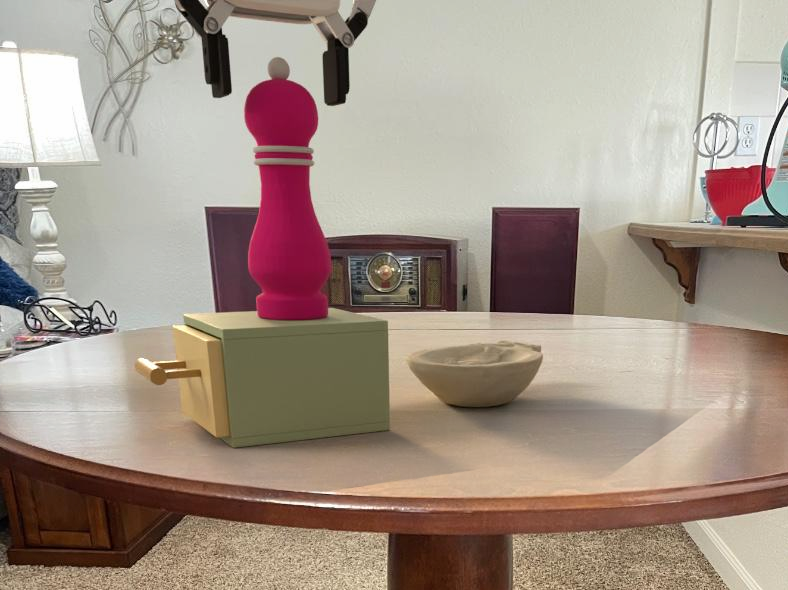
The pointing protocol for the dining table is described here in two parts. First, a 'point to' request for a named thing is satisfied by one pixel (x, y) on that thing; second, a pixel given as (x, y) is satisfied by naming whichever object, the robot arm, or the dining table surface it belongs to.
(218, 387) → the drawer
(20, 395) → the dining table surface
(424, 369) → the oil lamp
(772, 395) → the dining table surface
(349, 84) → the robot arm
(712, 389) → the dining table surface
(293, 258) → the pepper mill
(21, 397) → the dining table surface
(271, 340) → the cabinet
